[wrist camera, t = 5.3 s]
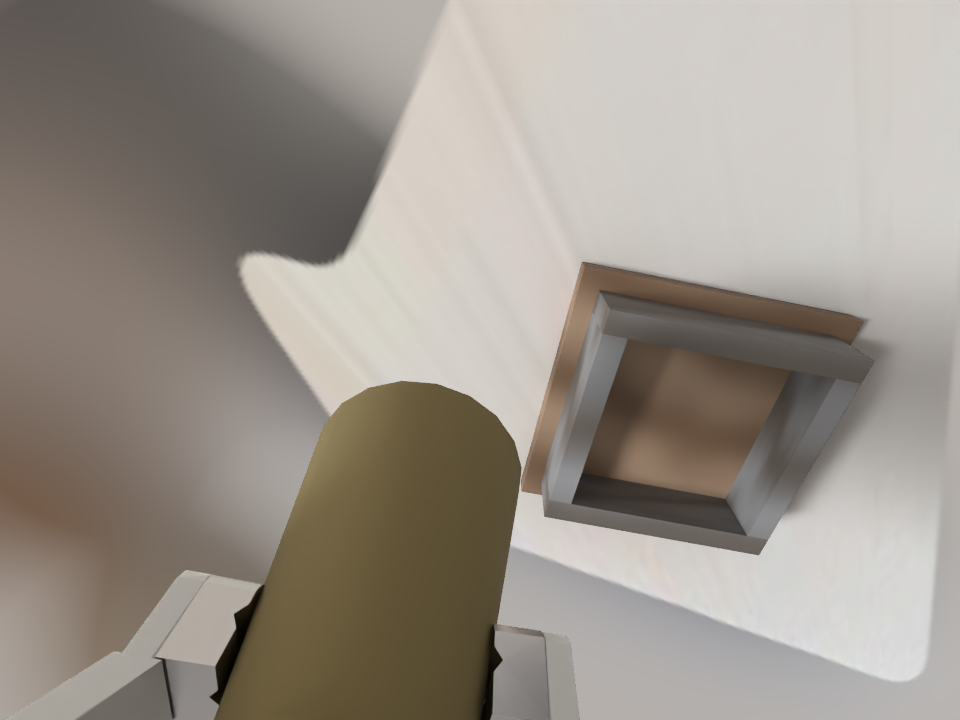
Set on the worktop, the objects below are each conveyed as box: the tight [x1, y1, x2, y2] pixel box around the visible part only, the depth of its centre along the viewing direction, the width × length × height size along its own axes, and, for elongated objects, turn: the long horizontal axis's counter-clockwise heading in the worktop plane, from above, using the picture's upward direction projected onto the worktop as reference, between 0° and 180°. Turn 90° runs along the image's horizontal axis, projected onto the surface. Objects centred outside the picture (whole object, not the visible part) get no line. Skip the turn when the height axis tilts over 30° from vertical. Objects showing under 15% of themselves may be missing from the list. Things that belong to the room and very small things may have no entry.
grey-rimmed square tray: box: [521, 262, 874, 555], centre depth 27 cm, size 14×14×4 cm
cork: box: [214, 381, 521, 720], centre depth 9 cm, size 6×6×11 cm
